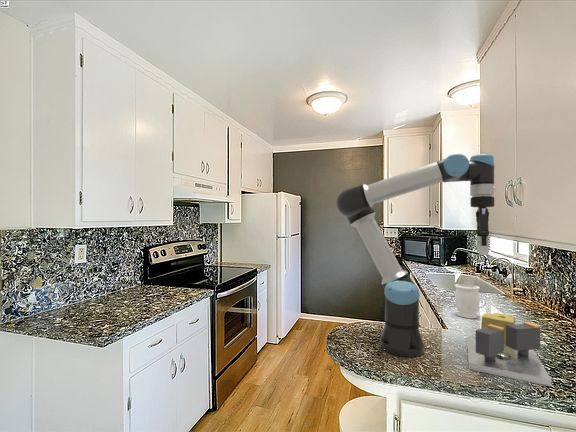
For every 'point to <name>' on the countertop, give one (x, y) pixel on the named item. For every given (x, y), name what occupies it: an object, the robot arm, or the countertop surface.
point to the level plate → (509, 365)
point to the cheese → (498, 321)
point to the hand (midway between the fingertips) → (482, 253)
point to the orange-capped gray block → (523, 337)
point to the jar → (467, 300)
